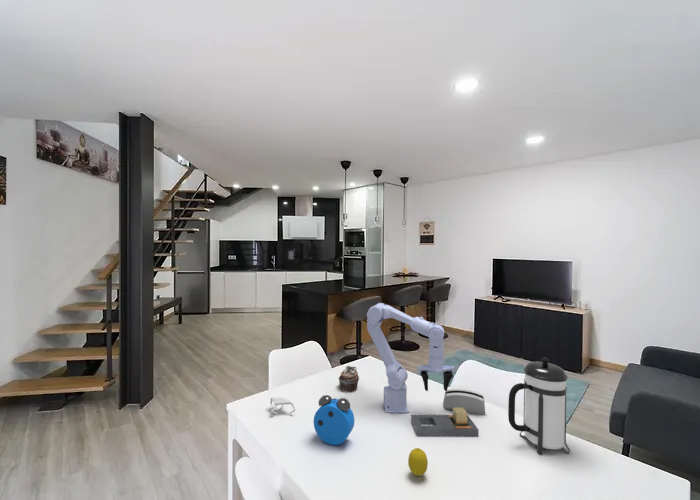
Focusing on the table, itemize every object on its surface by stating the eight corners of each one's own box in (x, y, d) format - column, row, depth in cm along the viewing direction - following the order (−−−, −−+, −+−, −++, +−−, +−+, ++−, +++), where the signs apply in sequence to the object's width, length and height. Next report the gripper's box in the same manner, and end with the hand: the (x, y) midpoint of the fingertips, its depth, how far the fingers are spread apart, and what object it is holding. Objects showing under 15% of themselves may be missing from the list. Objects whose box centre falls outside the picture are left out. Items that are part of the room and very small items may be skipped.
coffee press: (523, 426, 121) (525, 347, 121) (574, 445, 110) (576, 357, 110) (507, 445, 109) (508, 357, 109) (562, 468, 98) (563, 370, 98)
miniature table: (263, 417, 125) (263, 404, 125) (271, 407, 133) (271, 395, 133) (293, 420, 123) (293, 407, 123) (299, 409, 131) (299, 397, 131)
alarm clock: (354, 440, 111) (355, 396, 111) (348, 450, 105) (349, 404, 105) (320, 432, 115) (320, 390, 115) (312, 441, 109) (313, 397, 109)
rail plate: (417, 436, 114) (417, 428, 114) (410, 421, 124) (411, 414, 124) (478, 436, 114) (478, 428, 114) (467, 421, 124) (467, 414, 124)
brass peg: (456, 432, 117) (456, 412, 117) (452, 426, 121) (452, 407, 121) (467, 432, 117) (467, 412, 117) (462, 426, 121) (463, 407, 121)
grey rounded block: (484, 408, 135) (485, 389, 131) (485, 417, 130) (487, 398, 127) (442, 402, 139) (443, 384, 136) (442, 411, 135) (443, 392, 132)
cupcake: (340, 383, 157) (340, 363, 157) (359, 385, 156) (360, 364, 156) (336, 392, 148) (337, 370, 148) (357, 393, 147) (358, 371, 147)
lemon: (405, 469, 96) (406, 443, 96) (423, 469, 96) (424, 442, 97) (411, 483, 91) (411, 454, 91) (430, 482, 91) (430, 454, 91)
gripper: (420, 359, 124) (420, 394, 124) (457, 359, 124) (457, 394, 124) (416, 353, 131) (415, 386, 131) (451, 353, 131) (451, 386, 131)
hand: (435, 390), depth 128 cm, fingers open, 7 cm apart
